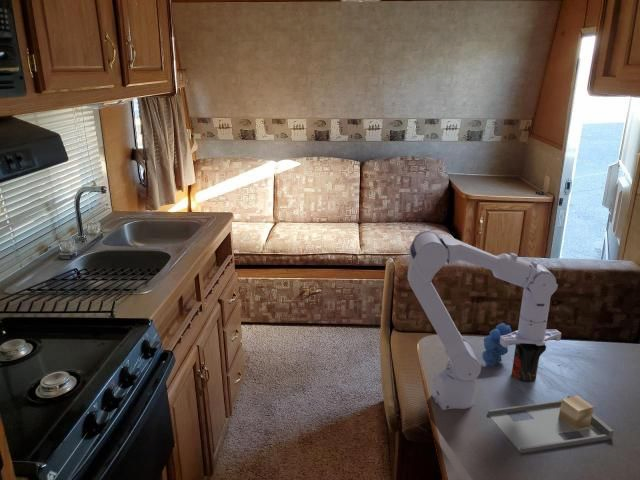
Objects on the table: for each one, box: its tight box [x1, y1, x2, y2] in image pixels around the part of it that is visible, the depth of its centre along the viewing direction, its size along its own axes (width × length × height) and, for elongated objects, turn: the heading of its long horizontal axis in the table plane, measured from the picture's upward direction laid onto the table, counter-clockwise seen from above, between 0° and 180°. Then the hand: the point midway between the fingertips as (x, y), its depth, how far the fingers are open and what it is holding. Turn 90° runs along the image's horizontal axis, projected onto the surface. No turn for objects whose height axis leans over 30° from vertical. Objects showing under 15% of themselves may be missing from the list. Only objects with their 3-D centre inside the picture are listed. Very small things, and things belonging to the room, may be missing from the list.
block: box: [558, 395, 595, 430], centre depth 109 cm, size 4×4×5 cm
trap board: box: [487, 394, 615, 454], centre depth 108 cm, size 22×13×4 cm, turn 103°
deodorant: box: [511, 346, 540, 383], centre depth 126 cm, size 6×6×15 cm
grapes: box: [481, 322, 513, 367], centre depth 135 cm, size 12×7×12 cm, turn 128°
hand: (526, 369), depth 114 cm, fingers closed
